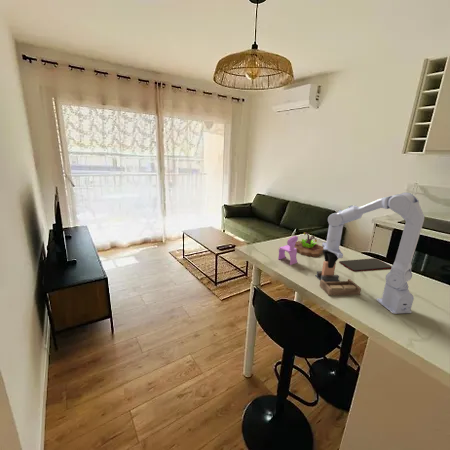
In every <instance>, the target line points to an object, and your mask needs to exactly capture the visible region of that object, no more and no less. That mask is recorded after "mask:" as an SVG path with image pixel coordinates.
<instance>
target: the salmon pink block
mask: <svg viewBox="0 0 450 450" xmlns="http://www.w3.org/2000/svg"><path fill="white" fill-rule="evenodd" d="M336 263H337V262H336ZM336 263H335V265H334V267H333V268H328V261H325V260H323V263H322V269H321V271H322V274H321V275H335V270H336V265H337V264H336Z"/></svg>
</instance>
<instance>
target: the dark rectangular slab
mask: <svg viewBox="0 0 450 450" xmlns="http://www.w3.org/2000/svg"><path fill="white" fill-rule="evenodd" d="M338 263H339V264H340V265H342V266H343V267H345V268H346V269H348V270H349V271H351V272H354V273H357V272H368V271H381V270H391V267H392V266H393V265H391V264H388V263H386V262H384V261H383V260H381V259H378V258H373V257H372V258H364V259H360V258H359V259H349V260H347V259H346V260H339V261H338Z"/></svg>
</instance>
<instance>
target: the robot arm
mask: <svg viewBox="0 0 450 450" xmlns="http://www.w3.org/2000/svg"><path fill="white" fill-rule="evenodd" d="M380 209H384V210H389V209H390V210H391V211H392V212H394V213H396V214H398V215H400V216H401V218H402V219H403V220H404V221H405V224H404V227H403V231H402V235H401V239H400V241H399V244H398V245H399V246H398V247H397V248H398V249H397V252H396V255H395V259H394V262H393V264H392V265H391V266H392V267H391V269H389V272H387V274H385V285H384V287H383V292H382V296H381V298H376V299H375V300H376V301H377V302H378V303H379V304H380V305H382V306H383V307H384V308H385V309H387V311H389V312H390V313H391V314H392V315H394V314H397V315H398V314H412V313H413V312H412V310H411V309H412V306H413V304H414V303H413V302H414V299H415V298H414V295H413V294H412V292H410V290H409V283H408V282H409V281H411V279H412V278H413V272H412V268H413V265H412V261H413V258H414V254H415V251H416V248H417V244H418V242H419V238H420V235H421V231H422V229H423V225H424V221H425V215H424V213H423V209H422V208H421V205H420V200H419V199H418V198H417V197H416V196H415V195H413V194H412V193H410V192H402V193H397V194H393V195H388V196H386V197H385V196H384V197H381V198H378V199H376V200H373V201H371V202H368V203H367V204H364V205H362V206H358V205H349V206H348V207H347V208H345V209H343V210H342V209H340V210H338V211H337V212H334V213H331V214H329V216H328V217H327V222H328V223H327V224H328V229H327V234H326V235H327V236H326V242H322V244H321V246H323V249H324V250H323V254H322V255H323V257H324V261H328V268H333V267H334V265H335V263H337V261H338V260H339V259H343V257H344V254H343V252H342V251H341V249H340V246H341V240H342V235H343V229H344V225H346V224H348V223H351V222H353V221H357V220H359V219H361V218H362V216H363V215H364V214H366V213H370V212H374V211H375V210H376V211H377V210H380ZM335 266H336V265H335Z"/></svg>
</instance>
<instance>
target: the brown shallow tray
mask: <svg viewBox="0 0 450 450" xmlns="http://www.w3.org/2000/svg"><path fill="white" fill-rule="evenodd" d="M330 285H340V286H342V285H354V286H355V287H356V289H354V290H332V289H331V288H330V287H329V286H330ZM319 287H320V288H321V289H322V290H323V291H324V293H326V295H327V296H356V295H357V296H358V295H361V291H362V288H361V286H359V285H358V284H357V283H355V281H353V280H352V279H350V278H348V279H347V280H343V281H336V282H324V281H323V280H319Z"/></svg>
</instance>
